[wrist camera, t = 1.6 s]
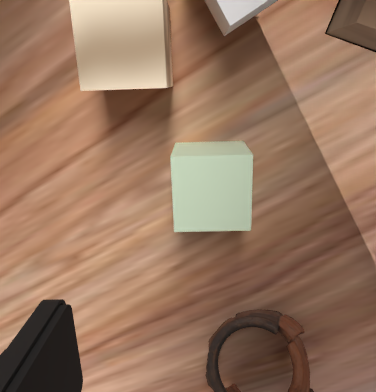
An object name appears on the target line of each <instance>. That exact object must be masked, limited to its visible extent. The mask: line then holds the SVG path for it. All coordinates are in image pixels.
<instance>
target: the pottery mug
mask: <svg viewBox="0 0 376 392" xmlns="http://www.w3.org/2000/svg"><path fill="white" fill-rule="evenodd" d="M246 327H259V328H263V329H266V330H268V331H270V332H272V333H274V334H277V332H279V333H280V334H281V335H282V336H284V337H285V339H286V340H287V342H288V343H289V344H288V345H287V349H288V352H289V354H290V357H291V360H292V365H293V377H292V382H291V385H290V387H289V389H288V392H314V391H313V389H311V388H309V387H310V370H309V364H308V360H307V353H306V350H305V347H304V345H303V343H302V341H301V339H300V337H299V336H298V335H299V334H303V333H304V329H303V327H302V326H301V325H300V324H299V323H297V322H296V321H295V320H294V319H293V318H291V317H289V316H287V315H284V316H283V315H282V314H281V313H280V312H277V311H271V310H249V311H245V312H241V313H238V314H236V317H235V318H229V319H227V320H226V321H225V322H224V323H223V324H222V325H221V326H220V327H219V329H218V330H217V331H216V332H215V333H214V334H213V336H212V337H211V338H210V340H209V353H208V362H207V366H206V369H207V372H206V378H207V382H208V385H209V386H210V387H211V388H212V389H213V390H214V392H241V391H240V390H239V389H238V388H237V386H236V385H235V384H232V385H231V386H230V387H228V388H225V387H224V385H223V383H222V381H221V378H220V375H219V370H218V356H219V352H220V350H221V347H222V345H223V343H224V342H225V340H226V339H227V338H228V337H229V336H230V335H231V334H232V333H234V332H235V331H237V330H239V329H242V328H246Z"/></svg>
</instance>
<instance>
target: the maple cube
mask: <svg viewBox="0 0 376 392" xmlns="http://www.w3.org/2000/svg"><path fill="white" fill-rule="evenodd" d="M69 3H70V11H71V19H72V27H73V35H74V43H75V51H76V59H77V67H78V75H79V83H80V91H91V90H120V89H150V88H168V87H172V86H173V75H172V53H171V30H170V8H169V5H168V2H167V0H69Z"/></svg>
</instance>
